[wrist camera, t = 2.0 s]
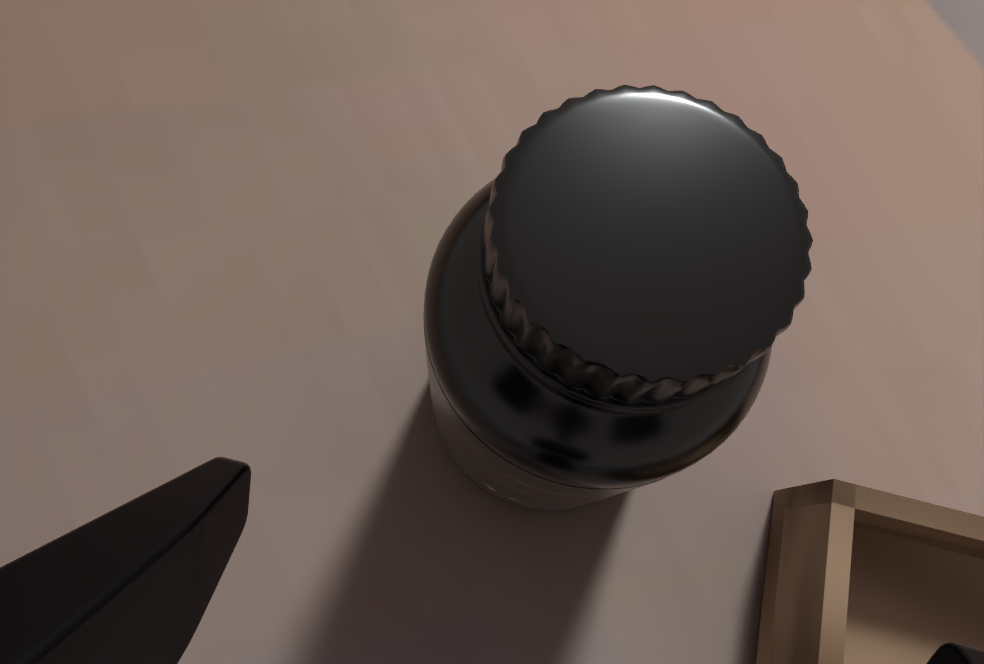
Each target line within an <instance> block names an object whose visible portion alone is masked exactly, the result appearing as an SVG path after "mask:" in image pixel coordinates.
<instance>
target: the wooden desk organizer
mask: <svg viewBox="0 0 984 664" xmlns="http://www.w3.org/2000/svg"><path fill="white" fill-rule="evenodd" d="M946 642H955V643H959V644H963V645H967V646H971V647H975V648H978V649H980V650H982V651H984V517H982V516H978V515H974V514H970V513H966V512H962V511H958V510H954V509H950V508H946V507H942V506H938V505H934V504H930V503H926V502H922V501H919V500H915V499H911V498H907V497H903V496H899V495H895V494H891V493H887V492H883V491H879V490H875V489H871V488H867V487H863V486H859V485H855V484H851V483H847V482H843V481H839V480H836V479H831V480H826V481H821V482H816V483H811V484H806V485H801V486H796V487H791V488H786V489H781V490H776V491H774V501H773V510H772V519H771V528H770V537H769V546H768V556H767V565H766V574H765V583H764V592H763V601H762V611H761V620H760V629H759V638H758V647H757V656H756V664H926V663H927V662H928V661H929V659H930V658H931V657H932V655H933V654H934V653H935V651H936V650H937V649H938V648H939V647H940V646H941V645H942V644H944V643H946Z"/></svg>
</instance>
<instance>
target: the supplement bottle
mask: <svg viewBox="0 0 984 664" xmlns="http://www.w3.org/2000/svg"><path fill="white" fill-rule="evenodd" d="M798 192H799V189H798V183H797V182H796V181H795V180H794V179H793V178H792V177H791V176H790V175H789V174H788V173H787V172H786V168H785V165H784V162H783V159H782V157H780V156H779V155H778V154H776V153H775V152H774V151H772V150H771V149H769V147H768V146H767V144H766V141H765V140H764V138H763V136H762V135H760V134H759V133H757V132H755V131H753V130H751V129H749V128H747V126H746V125H745V124H744V123H743V121H742V120H741V119H740V118H739V117H738V116H736V115H733V114H730V113H727V112H724V111H722V110H721V109H720V108H719V107H718V106H717V105H716V104H714V103H713V102H712V101H707V100H701V99H696V98H694V97H693V96H691V95H690V94H688V93H686V92H684V91H666V90H664V89H662V88H660V87H657V86H654V85H653V86H647V87H643V88H637V87H633V86H628V85H623V86H620V87H617V88H615V89H613V90H603V89H595V90H594V91H592V92H590V93H589V94H587V95H586V96H585V97H580V98H569V99H567V100H566V101H565V102H564V103H563V104H562V105H561V106H560V107H559V108H558V109H555V110H550V111H547V112H544V113H543V114H542V115H541V117H540V118H539V120H538V121H537V124H535V125H533V126H531V127H529V128H527V129H525V130H524V131H522V133H521V134H520V136H519V139H518V142H517V146H515V147H514V148H513V149H511V150H510V151H509V152H508V153H507V154H506V155H505V157H504V158H503V162H502V168H501V173H500V174H499V175H498V176H497V178H495V179H494V180H492V181H491V182H489V183H488V184H487V185H485V186H484V187H483V188H482V189H481V190H479V191H478V192H477V193H476V194H475V195H474V196H473V197H472V198H471V199H470V200H469V201H468V202H467V203H466V204H465V205H464V206H463V207H462V208H461V210H460V211H459V212H458V213H457V214H456V216H455V217H454V219H453V220H452V222H451V223H450V225H449V226H448V228H447V229H446V231H445V233H444V235H443V236H442V238H441V240H440V242H439V244H438V246H437V249H436V251H435V254H434V257H433V259H432V262H431V266H430V270H429V273H428V278H427V284H426V290H425V301H424V334H425V344H426V354H427V364H428V374H429V384H430V394H431V402H432V408H433V413H434V418H435V422H436V426H437V429H438V431H439V434H440V437H441V439H442V441H443V443H444V445H445V447H446V449H447V451H448V452H449V454H450V456H451V457H452V459H453V460H454V461H455V463H456V464H457V465H458V467H459V468H460V469H461V470H462V471H463V472H464V473H465V474H466V475H467V476H468V477H469V478H470V479H471V480H472V481H473V482H474V483H475V484H477V485H478V486H480V487H481V488H482V489H484V490H485V491H487V492H488V493H490V494H492V495H493V496H495V497H497V498H500V499H502V500H504V501H506V502H509V503H512V504H515V505H518V506H522V507H526V508H532V509H539V510H561V509H569V508H574V507H579V506H583V505H587V504H590V503H594V502H597V501H600V500H603V499H606V498H609V497H612V496H615V495H618V494H621V493H624V492H627V491H630V490H633V489H636V488H639V487H642V486H645V485H648V484H651V483H654V482H656V481H659V480H662V479H664V478H665V477H666V478H667V477H668V476H670V475H671V476H672V475H673V474H675V473H678V472H680V471H682V470H684V469H686V468H687V467H689V466H691V465H693V464H695V463H696V462H698V461H699V460H701V459H702V458H704V457H705V456H707V455H708V454H710V453H711V452H712V451H714V450H715V449H716V448H717V447H718V446H720V445H721V444H722V443H723V442H724V441H725V440H726V439H727V438H728V437H729V436H730V435H731V434H732V433H733V432H734V431H735V430H736V428H737V427H738V426H739V424H740V423H741V422H742V420H743V419H744V418H745V416H746V415H747V413H748V412H749V410H750V408H751V407H752V405H753V403H754V402H755V400H756V398H757V395H758V393H759V391H760V389H761V387H762V384H763V381H764V378H765V375H766V372H767V369H768V365H769V360H770V355H771V349H772V344H773V342H774V340H775V337H776V336H778V335H779V334H781V333H782V332H784V331H785V330H786V329H788V327H789V326H790V324H791V321H792V317H793V310H794V309H795V308H796V307H797V306H798V305H799V304H800V303H801V301H802V300H803V299H804V280H805V279H806V278H807V276H808V275H809V273H810V271H811V263H810V258H809V254H808V252H809V249H810V248H811V245H812V241H813V239H812V236H811V234H810V231H809V229H808V227H807V225H806V224H807V219H808V210H807V209H806V207H805V205H804V204H803V202H802V201H801V199H800V198H799V193H798Z"/></svg>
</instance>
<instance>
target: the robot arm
mask: <svg viewBox="0 0 984 664" xmlns="http://www.w3.org/2000/svg"><path fill="white" fill-rule="evenodd" d="M250 481H251V470H250V467H249V465H248V464H246V463H244V462H240V461H236V460H232V459H228V458H224V457H217V458H214V459H212V460H210V461H208V462H206V463H204V464H202V465H200V466H198V467H196V468H194V469H192V470H190V471H188V472H186V473H184V474H182V475H180V476H178V477H177V478H175V479H173V480H171V481H169V482H167V483H165V484H163V485H161V486H159V487H157V488H155V489H153V490H151V491H149V492H147V493H145V494H143V495H141V496H139V497H137V498H135V499H133V500H132V501H130V502H128V503H126V504H124V505H122V506H120V507H118V508H116V509H114V510H112V511H110V512H108V513H106V514H104V515H102V516H100V517H98V518H96V519H94V520H92V521H90V522H88V523H87V524H85V525H83V526H81V527H79V528H77V529H75V530H73V531H71V532H69V533H67V534H65V535H63V536H61V537H59V538H57V539H55V540H53V541H51V542H49V543H47V544H45V545H43V546H41V547H40V548H38V549H36V550H34V551H32V552H30V553H28V554H26V555H24V556H22V557H20V558H18V559H16V560H14V561H12V562H10V563H8V564H6V565H4V566H2V567H0V664H177V663H178V662H179V660H180V658H181V657H182V655H183V653H184V651H185V650H186V648H187V646H188V644H189V643H190V641H191V639H192V637H193V635H194V633H195V631H196V629H197V627H198V625H199V623H200V621H201V619H202V616H203V614H204V612H205V610H206V608H207V606H208V604H209V602H210V599H211V597H212V595H213V593H214V591H215V589H216V587H217V585H218V582H219V580H220V578H221V576H222V574H223V572H224V570H225V567H226V565H227V563H228V561H229V559H230V557H231V555H232V553H233V550H234V548H235V546H236V544H237V542H238V540H239V538H240V536H241V533H242V531H243V529H244V526H245V523H246V519H247V515H248V505H249V493H250ZM926 664H984V651H982V650H980V649H978V648H975V647H971V646H967V645H963V644H959V643H955V642H946V643H944V644H942V645H941V646H940V647H939V648H938V649H937V650H936V651H935V653H934V654H933V655H932V657H931V658H930V659H929V661H928V662H927V663H926Z"/></svg>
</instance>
